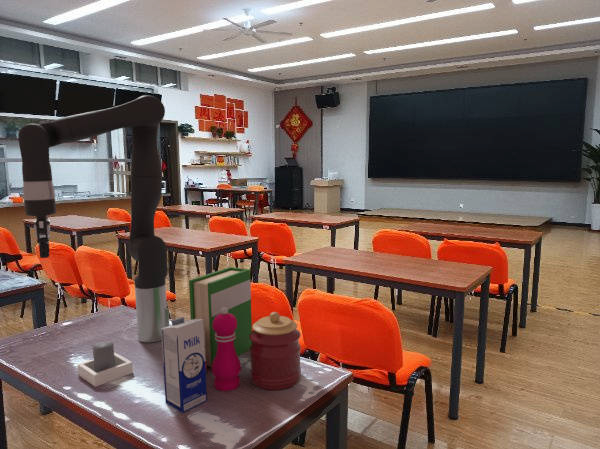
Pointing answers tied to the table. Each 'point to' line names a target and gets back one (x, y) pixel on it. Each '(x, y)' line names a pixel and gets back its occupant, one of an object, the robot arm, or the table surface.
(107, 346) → the peg
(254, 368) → the canister
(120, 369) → the socket
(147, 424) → the table surface
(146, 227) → the robot arm
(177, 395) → the milk carton
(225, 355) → the pepper mill
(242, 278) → the hardback book
